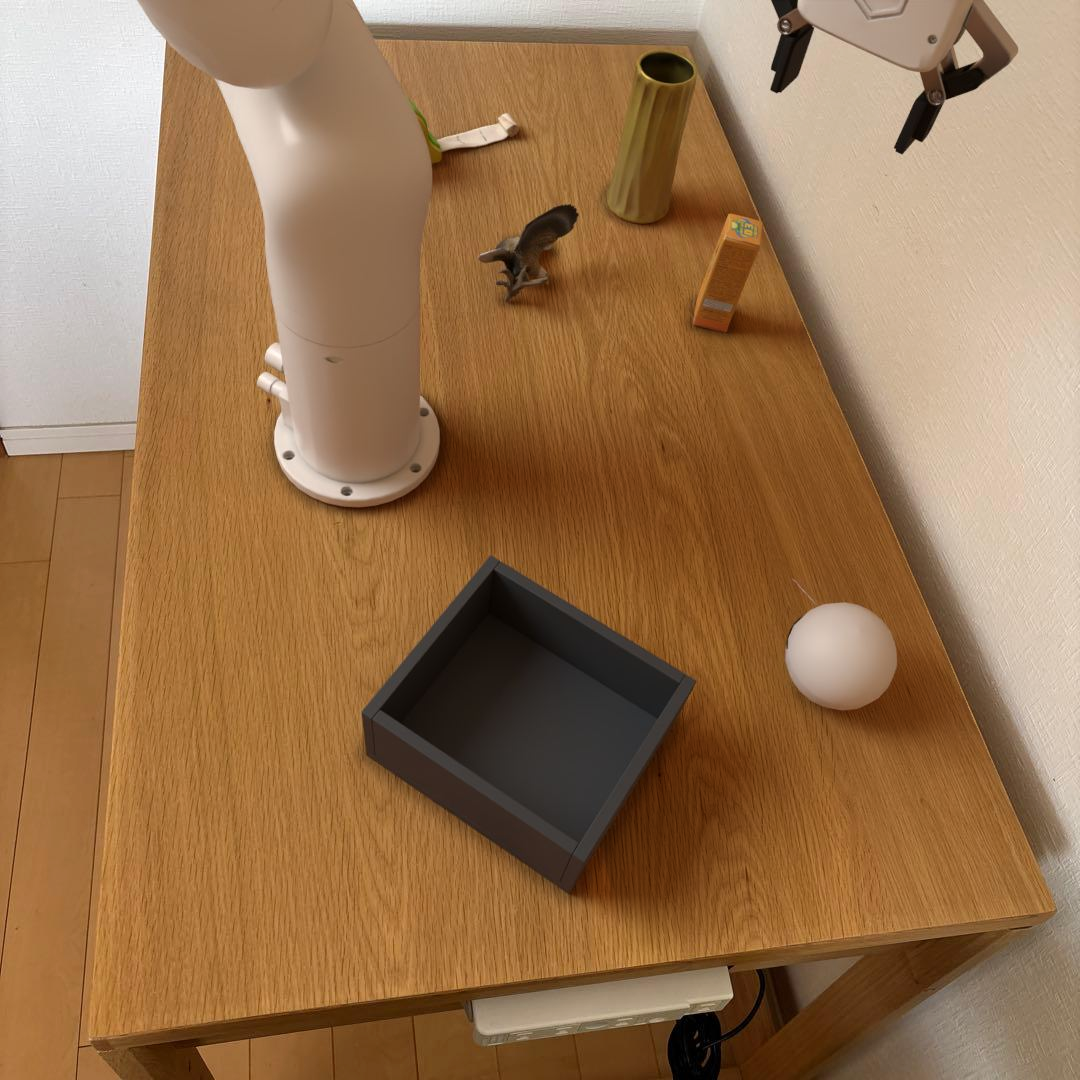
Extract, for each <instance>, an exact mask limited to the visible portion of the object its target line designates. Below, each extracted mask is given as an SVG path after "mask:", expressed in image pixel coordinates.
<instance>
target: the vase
mask: <svg viewBox="0 0 1080 1080" xmlns="http://www.w3.org/2000/svg"><path fill="white" fill-rule="evenodd" d="M697 79H698V68H697V65H696V63H695V62H694V61H693V60H692V59H691V58H690V57H688V56H687V55H685V54H683V53H681V52H678V51H675V50H670V49H659V48H658V49H652V50H648V51H646V52H644V53H642V54H641V55H640V56H639V57H638V59H637V61H636V64H635V69H634V75H633V79H632V80H633V81H632V84H631V89H630V95H629V100H628V104H627V108H626V113H625V117H624V121H623V122H624V123H623V127H622V132H621V135H620V140H619V145H618V149H617V154H616V158H615V163H614V166H613V170H612V173H611V178H610V183H609V187H608V190H607V192H606V196H605V197H606V198H605V199H606V204H607V206H608V208H609V209H610V210H611V212H612V213H613V214H614V215H615V216H617V217H619V218H620V219H622V220H624V221H627V222H630V223H634V224H641V225H642V224H652V223H655V222H657V221H659V220H661V219H663V218H664V217H665V216H666V215H667V214H668V211H669V209H670V203H671V194H672V189H673V185H674V180H675V174H676V170H677V165H678V163H677V162H678V159H679V154H680V153H679V152H680V149H681V144H682V139H683V135H684V131H685V127H686V124H687V120H688V116H689V112H690V109H691V104H692V101H693V97H694V92H695V89H696V84H697Z"/></svg>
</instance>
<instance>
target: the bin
mask: <svg viewBox="0 0 1080 1080" xmlns="http://www.w3.org/2000/svg"><path fill="white" fill-rule="evenodd" d="M697 682H698V681H697V680H696V679H695V678H693V677H692V676H690V675H688V674H686V673H685V672H684V671H682V670H680V669H679V668H677V667H675V666H673V665H671V664H670V663H669V662H668V661H665V660H663V659H662V658H660V657H659V656H657V655H655V654H653V652H651V651H649V650H647V649H645V648H644V647H642V646H641V645H639V644H638V643H636V642H634V641H633V640H631V639H629V638H628V637H626V636H624V635H623V634H621V633H620V632H617V631H616V630H614V629H613V628H611V627H609V626H608V625H606V624H605V623H604V622H601V621H600V620H598V619H596V618H595V617H593V616H592V615H589V614H588V613H587V612H585V611H583V610H581V609H580V608H578V607H576V606H575V605H573V604H572V603H570V602H568V601H566V600H565V599H564V598H562V597H561V596H559V595H557V594H555V593H553V592H552V591H550V590H548V589H547V588H545V587H544V586H542V584H541V585H540V584H539V583H537V582H535V581H534V580H532V579H531V578H529V577H527V576H526V575H524V574H523V573H521V572H519V571H518V570H516V569H514V568H513V567H511V566H509V565H507V564H506V563H504V562H503V561H501V560H500V559H499V558H496V557H495V556H493V555H492V554H491V555H489V556H488V557H487V559H486V560H485V561H484V562H483V563H482V565H481V566H480V567H479V568H478V569H477V571H476V572H475V573H474V575H472V577H471V578H470V579H469V580H468V582H467V583H466V584H465V585H464V586H463V588H462V589H461V590H460V591H459V593H458V594H457V595H456V596H455V598H453V600H452V601H451V602H450V603H449V604H448V606H447V607H446V608H445V610H444V611H443V612H442V613H441V615H440V616H439V617H438V618H437V619H436V620H435V622H434V623H433V624H432V625H431V626H430V627H429V629H428V630H427V632H426V633H425V634H424V635H423V636H422V637H421V638H420V640H419V641H418V642H417V644H416V645H415V646H414V647H413V648H412V650H410V652H409V653H408V655H406V657H405V658H404V659H403V660H402V662H401V663H400V664H399V665H398V666H397V668H396V669H394V671H393V672H392V674H391V675H390V676H389V677H388V678H387V680H386V681H385V682H384V684H383V685H382V686H381V687H380V688H379V689H378V691H377V692H376V693H375V695H374V696H373V697H372V698H371V700H370V701H369V702H368V703H367V704H366V705H365V707H363V709H362V710H361V712H360V714H361V721H362V729H363V730H362V731H363V739H364V747H365V756H366V757H368V758H370V759H371V760H372V761H374V762H375V763H377V764H378V765H379V766H381V767H383V768H384V769H385V770H387V771H389V772H390V773H391V774H393V775H395V777H397V778H398V779H400V780H401V781H403V782H405V783H406V784H408V785H409V786H410V787H412V789H415V790H416V791H417V792H419V793H421V794H422V795H423V796H425V797H426V798H427V799H429V800H431V801H432V802H433V803H435V804H437V805H438V806H439V807H441V808H443V810H445V811H447V812H448V813H450V814H451V815H453V816H454V817H455V818H457V819H458V820H460V821H461V822H463V823H464V824H465V825H467V826H468V827H470V828H472V829H473V830H475V831H476V832H477V833H478V834H480V835H481V836H483V837H485V838H486V839H488V840H489V841H490V842H492V843H493V844H495V845H497V846H498V847H499V848H501V849H502V850H504V851H505V852H507V853H508V854H510V855H511V856H512V857H514V858H515V859H516V860H518V861H519V862H521V863H523V864H524V865H526V866H527V867H528V868H529V869H531V870H533V871H534V872H536V873H537V874H539V875H540V876H541V877H543V878H545V879H546V880H547V881H549V882H550V883H552V884H554V885H555V886H556V887H558V888H559V889H560V890H562V891H563V892H565V893H566V894H571V892H572V891H573V889H574V887H575V885H576V884H577V882H578V881H579V879H580V877H581V876H582V875H583V872H584V871H585V869H586V868H587V866H588V864H589V863H590V861H591V860H592V858H593V856H594V855H595V853H596V851H597V850H598V848H599V847H600V846H601V843H602V842H603V840H604V839H605V837H606V835H607V834H608V832H609V830H610V829H611V827H612V826H613V824H614V822H615V821H616V819H617V818H618V816H619V815H620V813H621V811H622V810H623V808H624V806H625V805H626V803H627V801H628V800H629V798H630V797H631V796H632V793H633V791H634V790H635V788H636V787H637V785H638V783H639V782H640V780H641V779H642V777H643V776H644V774H645V772H646V770H647V769H648V767H649V766H650V764H651V762H652V761H653V759H654V758H655V756H656V754H657V753H658V751H659V749H660V747H661V746H662V745H663V743H664V742H665V740H666V739H667V736H668V735H669V733H670V732H671V730H672V729H673V727H674V726H675V723H676V721H677V719H678V718H679V716H680V714H681V712H682V710H683V708H684V707H685V704H686V703H687V701H688V699H689V697H690V696H691V693H692V692H693V690H694V688H695V686H696V685H697Z"/></svg>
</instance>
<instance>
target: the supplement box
mask: <svg viewBox="0 0 1080 1080" xmlns="http://www.w3.org/2000/svg"><path fill="white" fill-rule="evenodd" d="M763 231H764V222H762V221H760V220H757V219H754V218H750V217H746V216H742V215H738V214H735V213H728V214H727V217H726V220H725V222H724V225H723V228H722V230H721V233H720V235H719V238H718V241H717V243H716V245H715V249H714V250H713V254H712V256H711V258H710V259H711V260H710V262H709V263H708V268H707V270H706V273H705V275H704V279H703V281H702V283H701V287H700V289H699V293H698V295H697V298H696V302H695V306H694V313H693V319H692V324H693V326H696V327H699V328H703V329H708V330H713V331H718V332H722V333H726V332H727V331H728V329H729V325H730V323H731V320H732V318H733V316H734V313H735V310H736V308H737V305H738V303H739V300H740V298H741V295H742V293H743V291H744V288H745V285H746V283H747V280H748V278H749V276H750V272H751V270H752V267H753V265H754V263H755V260H756V257H757V255H758V252H759V250H760V248H761V246H762V240H763Z"/></svg>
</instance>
